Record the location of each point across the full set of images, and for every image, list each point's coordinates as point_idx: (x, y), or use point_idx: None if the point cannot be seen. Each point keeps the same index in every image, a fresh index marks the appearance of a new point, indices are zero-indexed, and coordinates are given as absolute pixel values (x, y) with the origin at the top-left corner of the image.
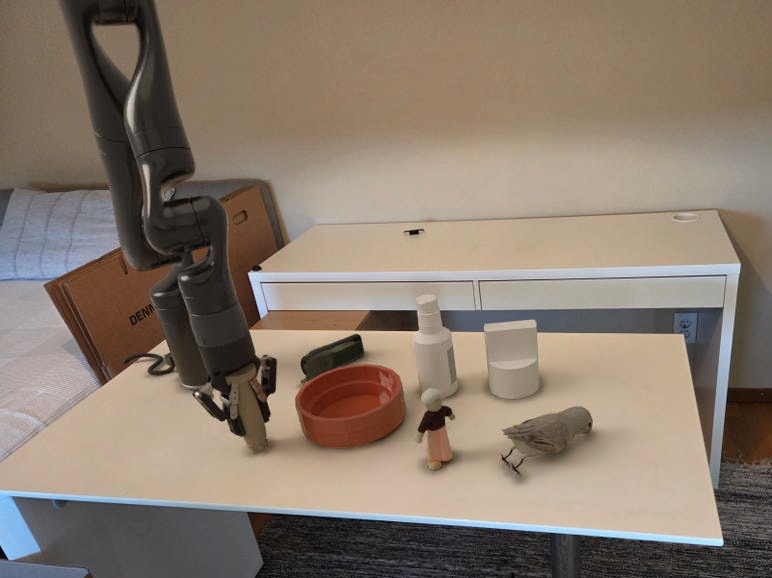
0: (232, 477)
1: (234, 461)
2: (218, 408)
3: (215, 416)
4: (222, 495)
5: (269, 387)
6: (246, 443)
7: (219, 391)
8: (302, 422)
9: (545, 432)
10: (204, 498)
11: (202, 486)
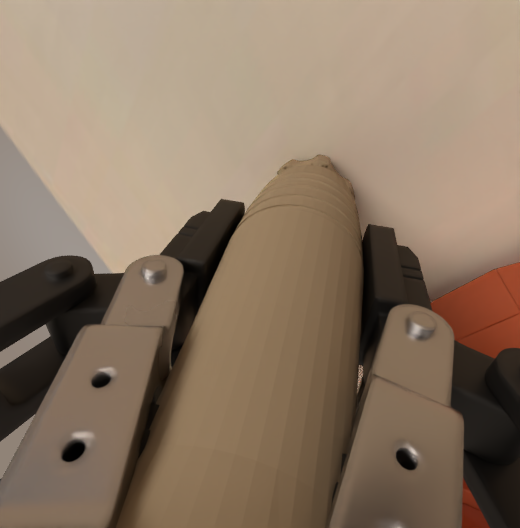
0: (165, 225)
1: (212, 167)
2: (24, 414)
3: (33, 353)
4: (115, 254)
5: (464, 477)
6: (278, 173)
7: (45, 398)
8: None
9: None
10: (77, 221)
11: (87, 173)
